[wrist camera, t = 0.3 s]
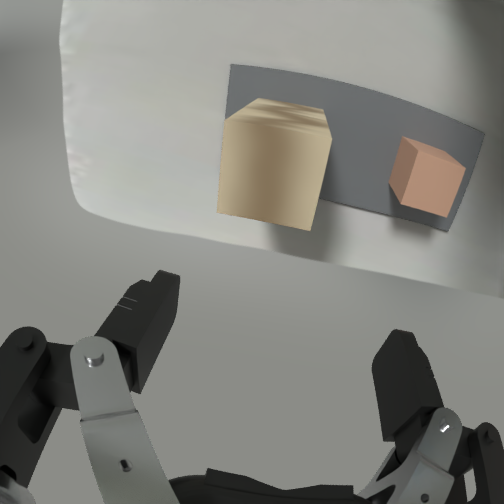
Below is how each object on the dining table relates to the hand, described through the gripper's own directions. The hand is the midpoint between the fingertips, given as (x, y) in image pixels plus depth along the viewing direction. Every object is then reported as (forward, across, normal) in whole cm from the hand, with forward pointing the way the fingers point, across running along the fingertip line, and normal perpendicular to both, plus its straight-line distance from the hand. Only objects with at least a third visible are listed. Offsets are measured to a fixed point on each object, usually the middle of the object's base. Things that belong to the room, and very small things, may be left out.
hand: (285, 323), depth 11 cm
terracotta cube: (+21, -12, -5) cm, 24 cm away
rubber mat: (+21, -6, -5) cm, 22 cm away
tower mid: (+15, +2, -3) cm, 16 cm away
